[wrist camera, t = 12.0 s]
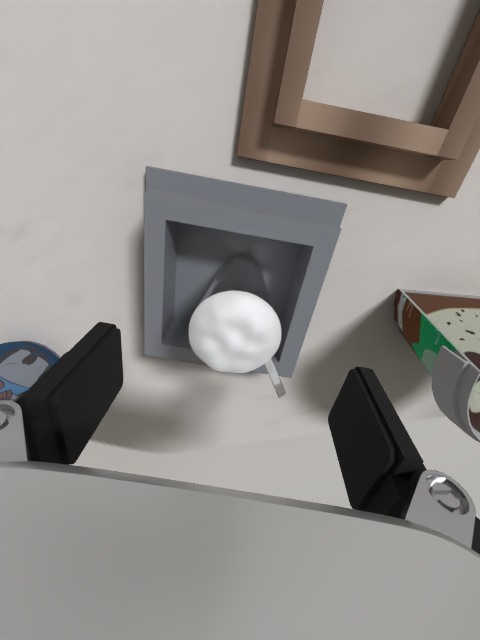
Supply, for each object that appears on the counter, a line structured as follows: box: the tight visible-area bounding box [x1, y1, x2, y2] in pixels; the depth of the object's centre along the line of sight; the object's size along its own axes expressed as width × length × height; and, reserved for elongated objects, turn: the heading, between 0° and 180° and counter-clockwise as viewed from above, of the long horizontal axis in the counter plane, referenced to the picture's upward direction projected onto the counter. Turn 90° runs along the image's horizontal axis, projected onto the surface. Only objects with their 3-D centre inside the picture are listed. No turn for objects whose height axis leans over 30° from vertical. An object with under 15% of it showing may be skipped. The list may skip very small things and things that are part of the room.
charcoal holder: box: [144, 166, 347, 378], centre depth 19 cm, size 13×13×4 cm
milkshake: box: [189, 256, 286, 398], centre depth 16 cm, size 4×5×10 cm
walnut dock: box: [237, 0, 480, 198], centre depth 13 cm, size 14×14×2 cm
